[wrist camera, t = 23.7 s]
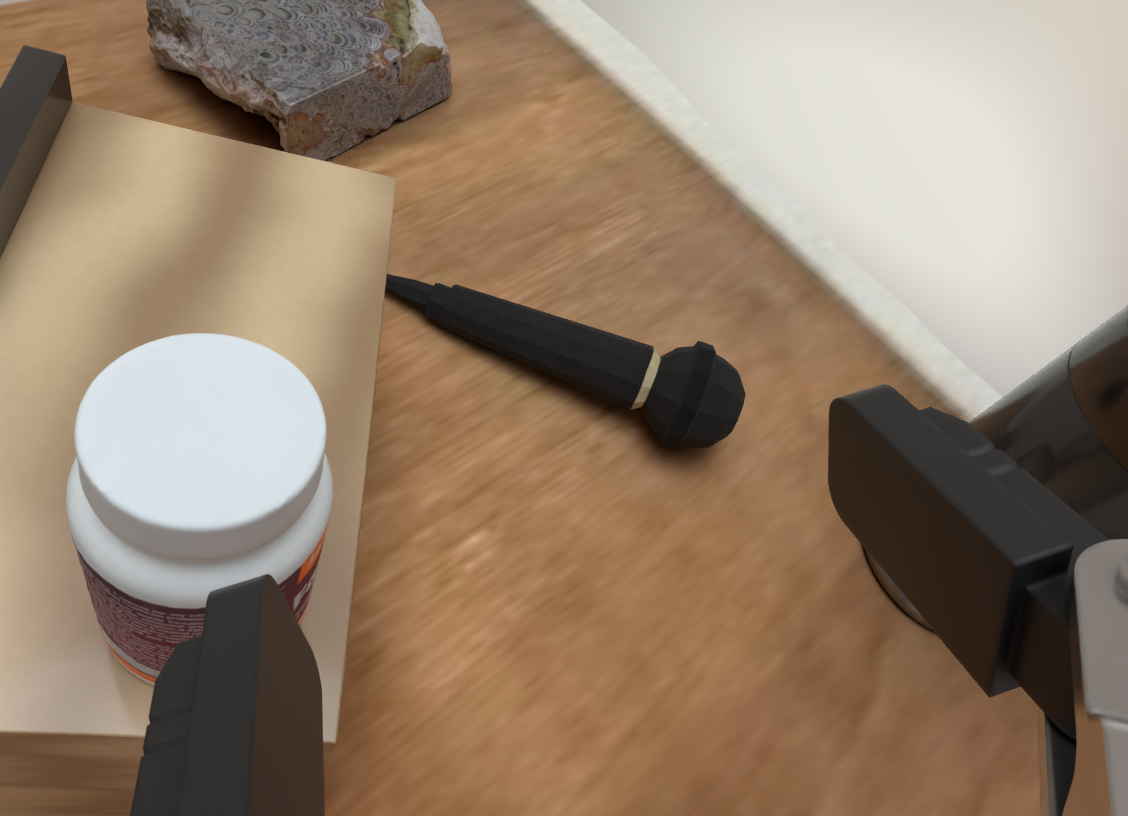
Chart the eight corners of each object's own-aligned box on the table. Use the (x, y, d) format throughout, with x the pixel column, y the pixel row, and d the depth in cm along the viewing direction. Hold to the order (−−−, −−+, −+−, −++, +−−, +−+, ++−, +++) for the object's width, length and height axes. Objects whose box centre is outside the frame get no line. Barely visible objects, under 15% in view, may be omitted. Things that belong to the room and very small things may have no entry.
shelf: (353, 363, 40) (406, 139, 30) (296, 819, 29) (347, 726, 19) (76, 317, 37) (23, 43, 26) (-108, 816, 26) (-333, 699, 15)
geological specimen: (127, -17, 42) (343, -88, 51) (142, 84, 47) (337, 3, 56) (281, 105, 41) (477, 10, 49) (280, 196, 46) (458, 96, 54)
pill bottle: (326, 664, 21) (380, 520, 14) (111, 722, 19) (59, 583, 12) (287, 497, 23) (317, 304, 16) (89, 531, 21) (33, 324, 14)
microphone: (359, 345, 45) (709, 477, 45) (345, 296, 39) (743, 446, 39) (400, 262, 47) (736, 388, 47) (392, 204, 41) (772, 347, 41)
